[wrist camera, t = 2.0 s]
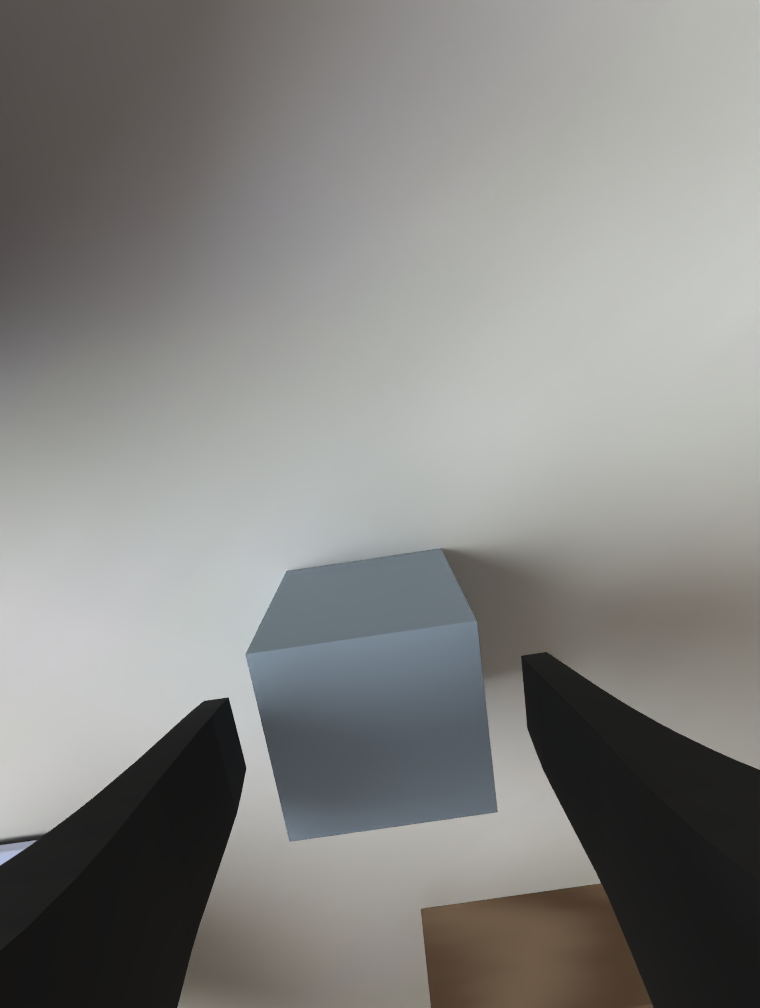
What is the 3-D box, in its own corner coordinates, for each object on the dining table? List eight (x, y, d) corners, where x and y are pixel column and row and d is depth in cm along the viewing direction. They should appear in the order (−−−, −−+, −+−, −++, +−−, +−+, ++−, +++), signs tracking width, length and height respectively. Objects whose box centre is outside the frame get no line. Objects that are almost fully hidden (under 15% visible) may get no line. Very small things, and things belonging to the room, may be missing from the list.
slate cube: (314, 705, 16) (289, 841, 11) (286, 570, 15) (245, 654, 10) (457, 684, 16) (497, 812, 11) (440, 547, 15) (477, 620, 10)
